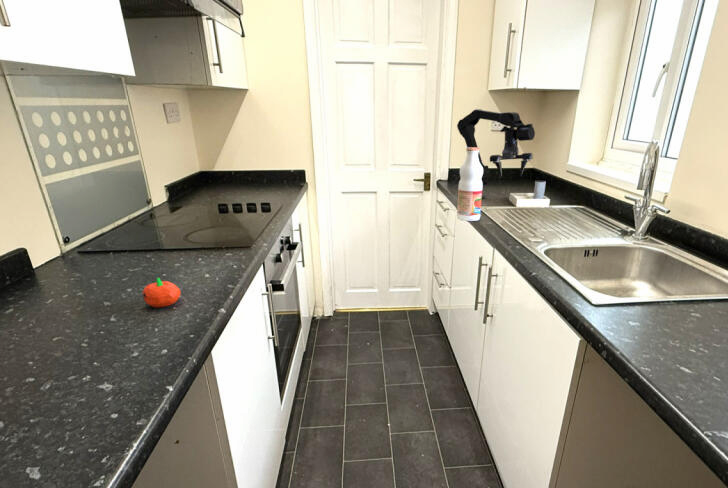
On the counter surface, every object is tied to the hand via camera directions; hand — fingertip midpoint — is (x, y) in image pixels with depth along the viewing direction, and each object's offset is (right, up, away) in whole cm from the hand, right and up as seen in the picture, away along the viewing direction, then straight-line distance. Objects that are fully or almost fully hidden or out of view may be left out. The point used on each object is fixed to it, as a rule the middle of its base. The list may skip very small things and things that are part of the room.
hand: (510, 176), depth 193 cm
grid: (+9, -12, +3) cm, 16 cm away
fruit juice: (-24, -24, -25) cm, 42 cm away
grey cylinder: (+12, -13, -1) cm, 18 cm away
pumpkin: (-106, -54, -99) cm, 155 cm away
